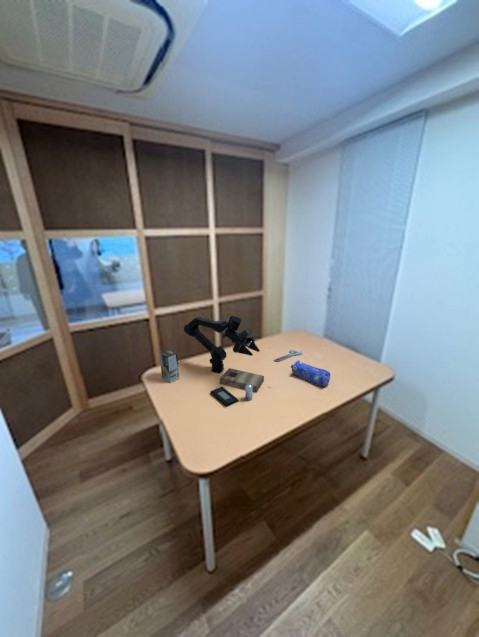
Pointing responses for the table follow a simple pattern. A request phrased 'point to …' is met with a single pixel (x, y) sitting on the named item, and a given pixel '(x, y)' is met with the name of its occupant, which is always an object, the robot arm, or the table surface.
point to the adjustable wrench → (289, 355)
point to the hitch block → (241, 379)
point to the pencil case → (311, 373)
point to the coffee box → (169, 365)
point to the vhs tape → (224, 396)
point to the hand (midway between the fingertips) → (256, 353)
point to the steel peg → (248, 391)
